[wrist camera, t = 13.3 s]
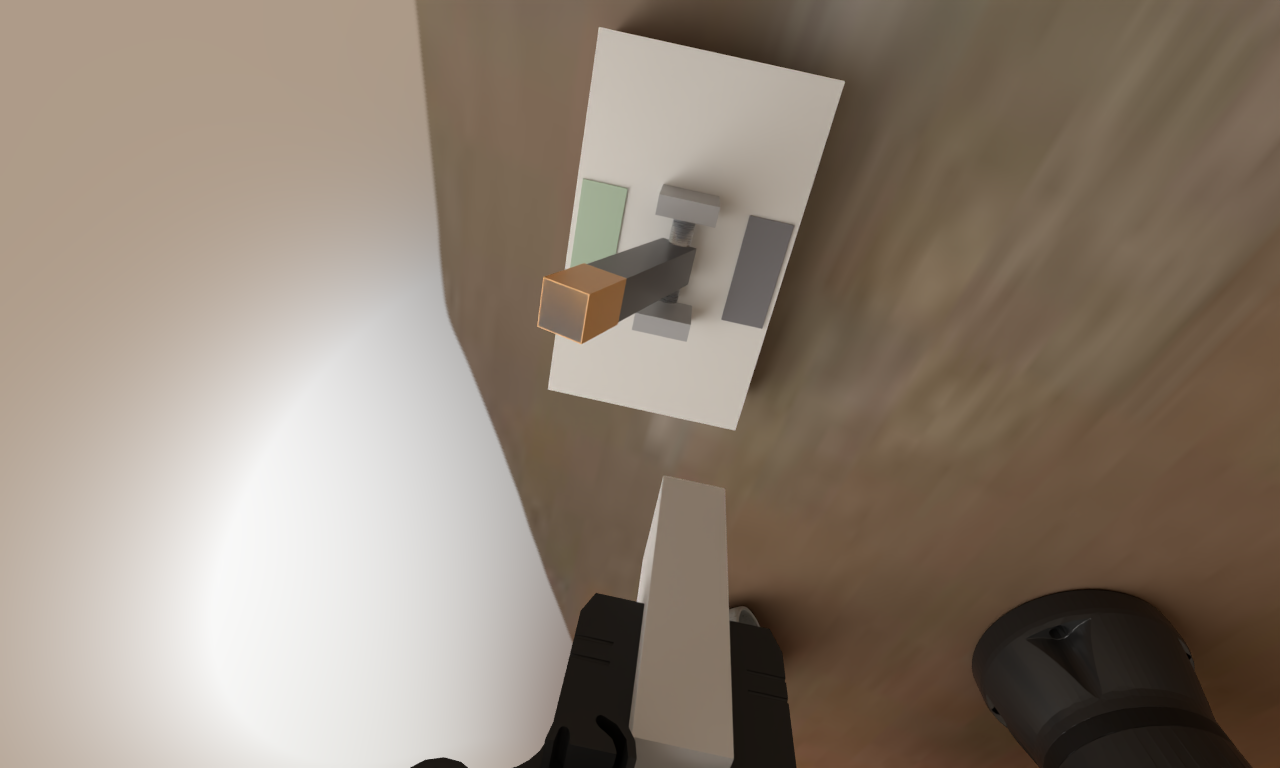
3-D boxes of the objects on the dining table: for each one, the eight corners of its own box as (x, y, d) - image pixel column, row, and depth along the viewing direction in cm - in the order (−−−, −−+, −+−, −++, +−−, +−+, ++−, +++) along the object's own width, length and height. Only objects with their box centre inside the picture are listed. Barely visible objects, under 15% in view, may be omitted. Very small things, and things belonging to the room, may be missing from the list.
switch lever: (688, 302, 34) (577, 369, 25) (654, 291, 35) (534, 351, 25) (707, 224, 32) (594, 264, 23) (671, 213, 33) (547, 248, 23)
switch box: (732, 393, 43) (737, 457, 36) (564, 356, 43) (536, 412, 36) (827, 79, 34) (858, 82, 27) (613, 33, 34) (588, 22, 27)
